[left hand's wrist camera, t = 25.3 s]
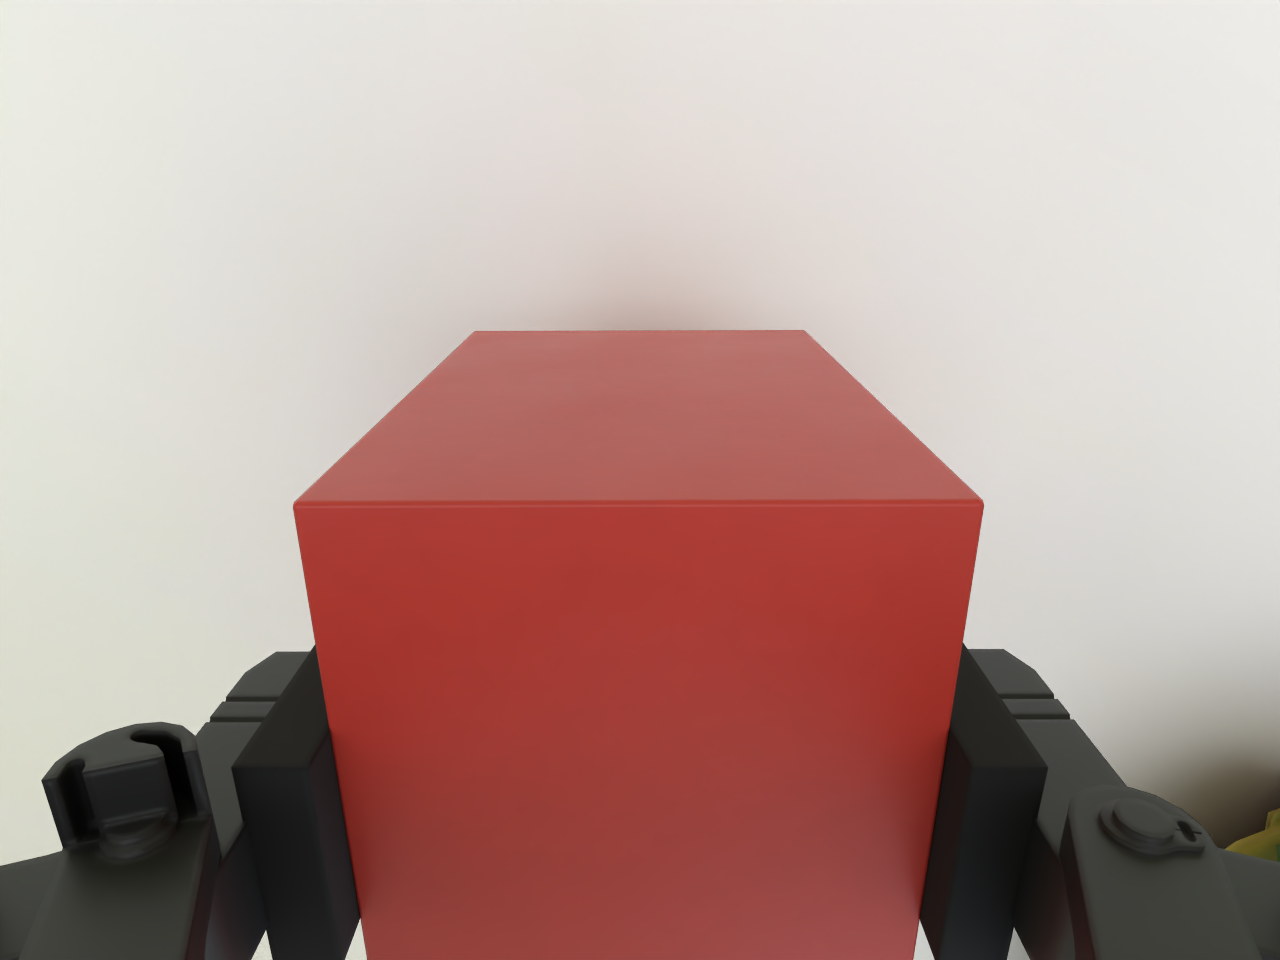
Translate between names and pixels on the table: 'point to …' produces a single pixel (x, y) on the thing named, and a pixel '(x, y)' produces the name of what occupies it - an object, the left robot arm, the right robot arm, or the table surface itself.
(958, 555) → the brick
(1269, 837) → the vegetable
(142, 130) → the table surface
